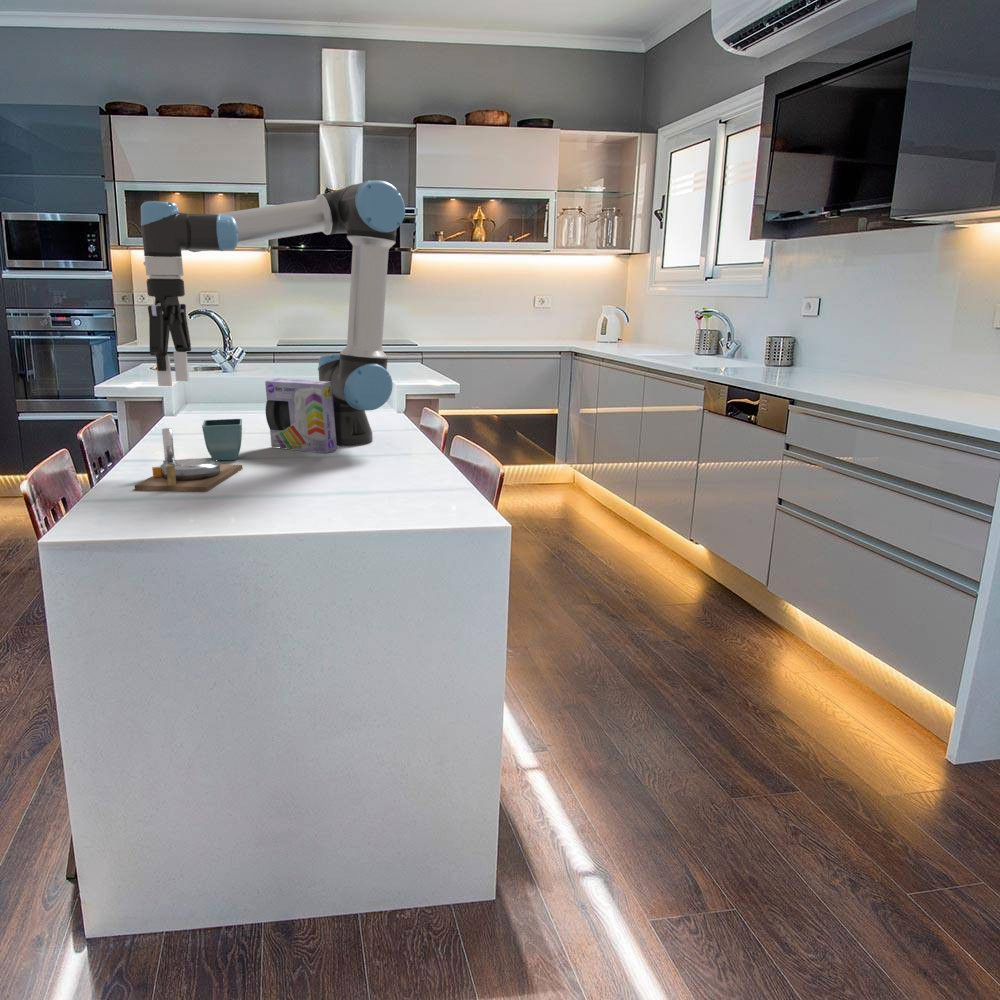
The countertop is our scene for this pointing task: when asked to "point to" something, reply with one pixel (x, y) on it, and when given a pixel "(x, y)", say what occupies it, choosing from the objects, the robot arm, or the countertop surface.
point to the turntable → (184, 463)
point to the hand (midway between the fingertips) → (174, 383)
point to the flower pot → (223, 438)
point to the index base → (187, 485)
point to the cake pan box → (301, 415)
